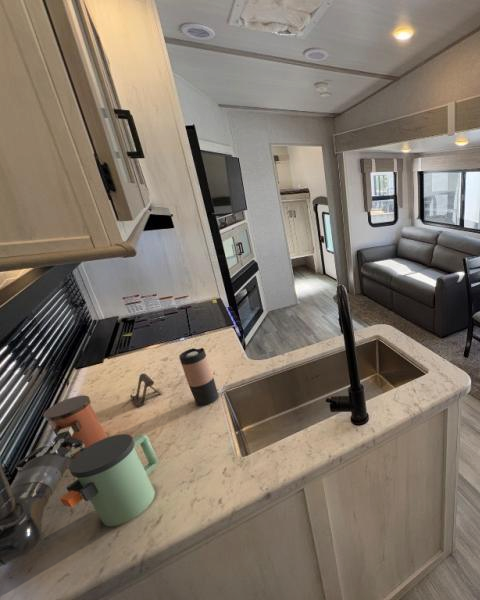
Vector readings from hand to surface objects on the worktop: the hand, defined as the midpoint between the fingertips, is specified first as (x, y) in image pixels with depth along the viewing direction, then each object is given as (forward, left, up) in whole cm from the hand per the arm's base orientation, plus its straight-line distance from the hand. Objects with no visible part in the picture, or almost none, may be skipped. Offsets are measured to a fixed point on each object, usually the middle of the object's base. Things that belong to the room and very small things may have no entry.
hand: (64, 434), depth 85 cm
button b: (0, +1, -1) cm, 1 cm away
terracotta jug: (-1, +9, -11) cm, 14 cm away
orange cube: (+12, -30, +1) cm, 33 cm away
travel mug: (+31, +14, -11) cm, 36 cm away
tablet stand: (+10, +28, -11) cm, 31 cm away
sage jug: (+18, -23, -10) cm, 31 cm away
